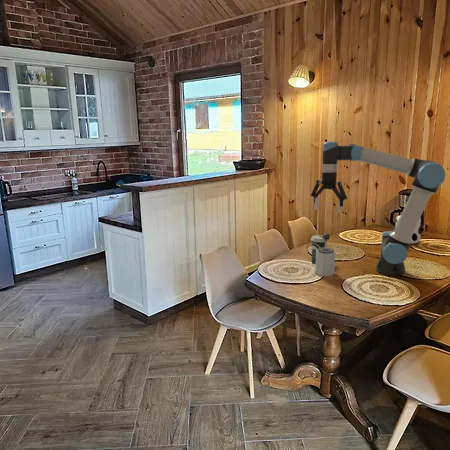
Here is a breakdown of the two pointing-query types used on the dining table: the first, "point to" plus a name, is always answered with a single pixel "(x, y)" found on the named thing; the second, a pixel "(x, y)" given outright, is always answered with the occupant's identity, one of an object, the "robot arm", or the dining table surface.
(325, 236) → the plunger
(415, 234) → the milk container
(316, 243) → the coffee cup
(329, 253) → the carafe
